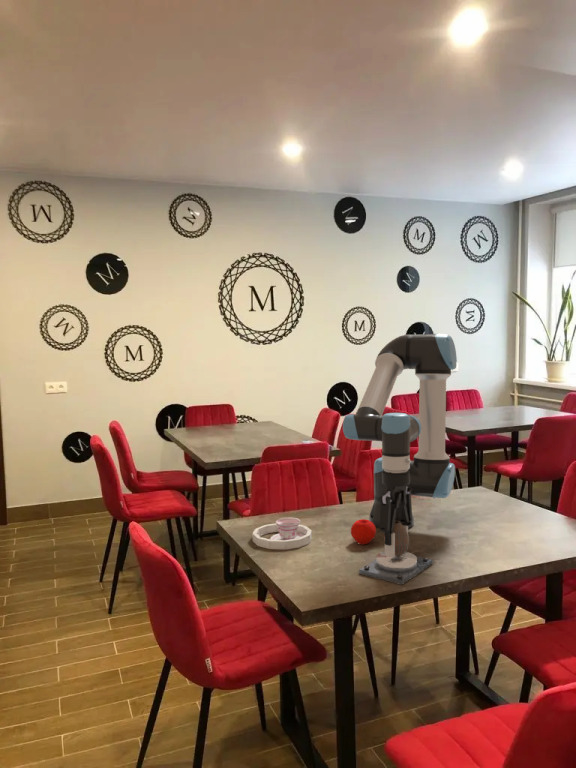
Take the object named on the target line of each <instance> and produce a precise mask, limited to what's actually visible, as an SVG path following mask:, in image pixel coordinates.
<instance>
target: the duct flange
mask: <svg viewBox="0 0 576 768" xmlns="http://www.w3.org/2000/svg"><path fill="white" fill-rule="evenodd" d="M432 563H434V561H433V559H430V558H428V557H426V556H425V557H421V556H417V555H415V554H413V553H411V552H407V551H406V552H405V553H404V554H403V555H395V557H389V556H385V551H381V552H379V553H378V554H377V555H376V559H375V560H373V561H372V562H369V563H368V564H366V565H364V566H362V567H361V568H359V570H358V573H359V575H362V576H367V577H371V578H374V579H378V580H381V579H383V581H385V580H386V582H389V581H391V582H390V583H393V582H395V583H394V584H397V583H399V584H398V585H401V584H403V583H404V582H406V581H407V580H409V579H410V578H412V577H413V578H415V577H416V576H418V575H419V574H421V573H422V572H424V571H425V570H426V569H428V568H429V567H431V566H432V565H433V564H432ZM431 564H432V565H431ZM430 565H431V566H430ZM428 566H429V567H428ZM427 567H428V568H427ZM425 568H426V569H425ZM424 569H425V570H424ZM421 571H422V572H421ZM418 573H419V574H418ZM415 575H416V576H415ZM414 576H415V577H414ZM413 578H412V579H413ZM410 580H411V579H410ZM410 580H409V581H410ZM407 582H408V581H407ZM407 582H406V583H407ZM404 584H405V583H404ZM404 584H403V585H404Z"/></svg>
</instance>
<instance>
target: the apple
mask: <svg viewBox="0 0 576 768" xmlns="http://www.w3.org/2000/svg"><path fill="white" fill-rule="evenodd" d="M350 534H351V537H352V538H353V540H354V541H355V542H356V543H357V544H358V545H362V546H363V545H367V544H370V543H371V541H372V540H373V539H374V538H375V537H376V534H377V527H375V525H374V524H373V523H372V522H371V521H369V519H364V518H363V519H358V520H356V521H355V522H354V523H353V524H352V526H351V529H350Z"/></svg>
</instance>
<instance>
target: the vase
mask: <svg viewBox="0 0 576 768" xmlns="http://www.w3.org/2000/svg"><path fill="white" fill-rule="evenodd" d="M393 533H395V555H403V554H404V553H405V552H407V551H408V550H409V546H410V536H409V532H408V533H407V531H406V529H405V528H404V527H403V526H402V524H401V522H400V521H395V522H394V529H393ZM383 545H384V546H385V534H384V535H383Z"/></svg>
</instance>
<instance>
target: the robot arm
mask: <svg viewBox="0 0 576 768" xmlns="http://www.w3.org/2000/svg"><path fill="white" fill-rule="evenodd" d="M457 358H458V357H457V351H456V346H455V341H454V340H453V338H452V336H451V335H449V334H447V333H428V334H427V333H425V334H424V333H423V334H403V335H399V336H397V337H395V338H394V339H392V340H391V341H390V342H388V343H387V344H385V346H384V347H382V349H381V350H380V351H379V353H378V354H377V356H376V359H375V360H374V361H375V362H374V365H375V369H374V371H373V373H372V376H371V378H370V380H369V383H368V385H367V387H366V389H365V392H364V394H363V397H362V399H361V401H360V404H359V406H358V408H357V410H356V411H355V412H356V413H355V414H354V413H350V414H346V415H345V416H344V418H343V421H342V422H343V423H342V431H343V435H344V437H345V438H346V439H348V440H355V441H369V442H370V441H371V442H381V455H382V456H381V457H379V458H377V459H376V460H375V461H374V463H373V472H372V473H373V497H374V498H373V503H372V507H371V510H370V512H369V513H370V514H369V519H368V520H369V521H371V522H372V523H373V524H374V525H375V528H376V529H377V528H378V529H379V532H380V533H384V535H385V545H384V552H385V556H389V557H395V533H393V529H394V522H395V521H400V522H401V524H402V526H403V527H404V528H405V529H406V531H407V533H408V534H409V528H411V527H413V526H414V524H415V523H414V522H415V518H414V515H413V511H412V509H413V507H412V496H414V497H423V498H424V497H425V498H426V497H427V498H433V499H446V498H448V497H449V496H450V495H451V492H452V490H453V486H454V482H455V477H456V476H455V475H456V465H455V464H454V463H452V462H450V459H451V457H450V456H449V455H448V453H446V417H447V414H446V413H447V411H446V409H447V408H446V407H447V380H448V379H449V378H450V377H451V375H452V371H453V370H456V369H457V368H456V367H457V362H458V361H457V360H458V359H457ZM404 370H414V373H415V374H414V375H415V376H416V377H417V378H418V379H419V392H418V393H419V394H418V395H419V400H418V401H419V402H418V403H419V405H418V408H419V409H418V410H419V411H418V417H416V416H414V415H411V414H407V413H404V412H389V413H387V412H386V413H385V414H383V413H384V410H385V408H386V406H387V403H388V401H389V398H390V395H391V393H392V391H393V388H394V386H395V383H396V380H397V378H398V376H400V375H401V374H402V373H403V371H404ZM417 438H418V451H417V453H415V454H414V455H413V460H411V459H410V456H411V451H410V450H411V443H412V442H414V441H415V440H417Z"/></svg>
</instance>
